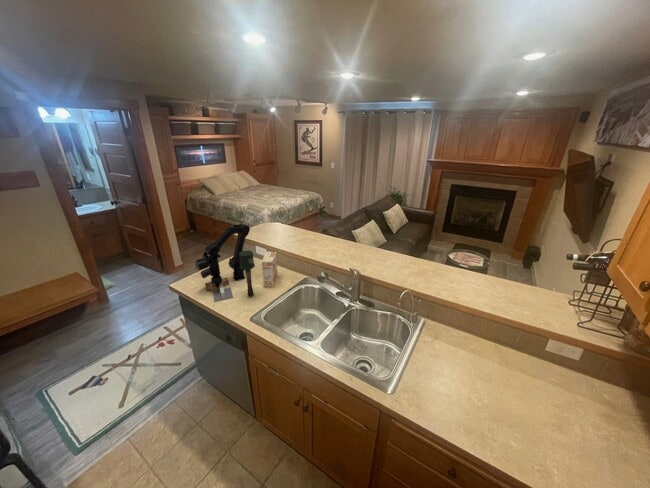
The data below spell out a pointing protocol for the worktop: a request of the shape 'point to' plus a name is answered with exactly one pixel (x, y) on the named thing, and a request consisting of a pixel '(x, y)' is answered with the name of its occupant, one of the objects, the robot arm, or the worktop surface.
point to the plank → (213, 286)
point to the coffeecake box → (269, 269)
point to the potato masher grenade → (247, 268)
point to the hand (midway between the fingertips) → (217, 285)
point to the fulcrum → (222, 294)
